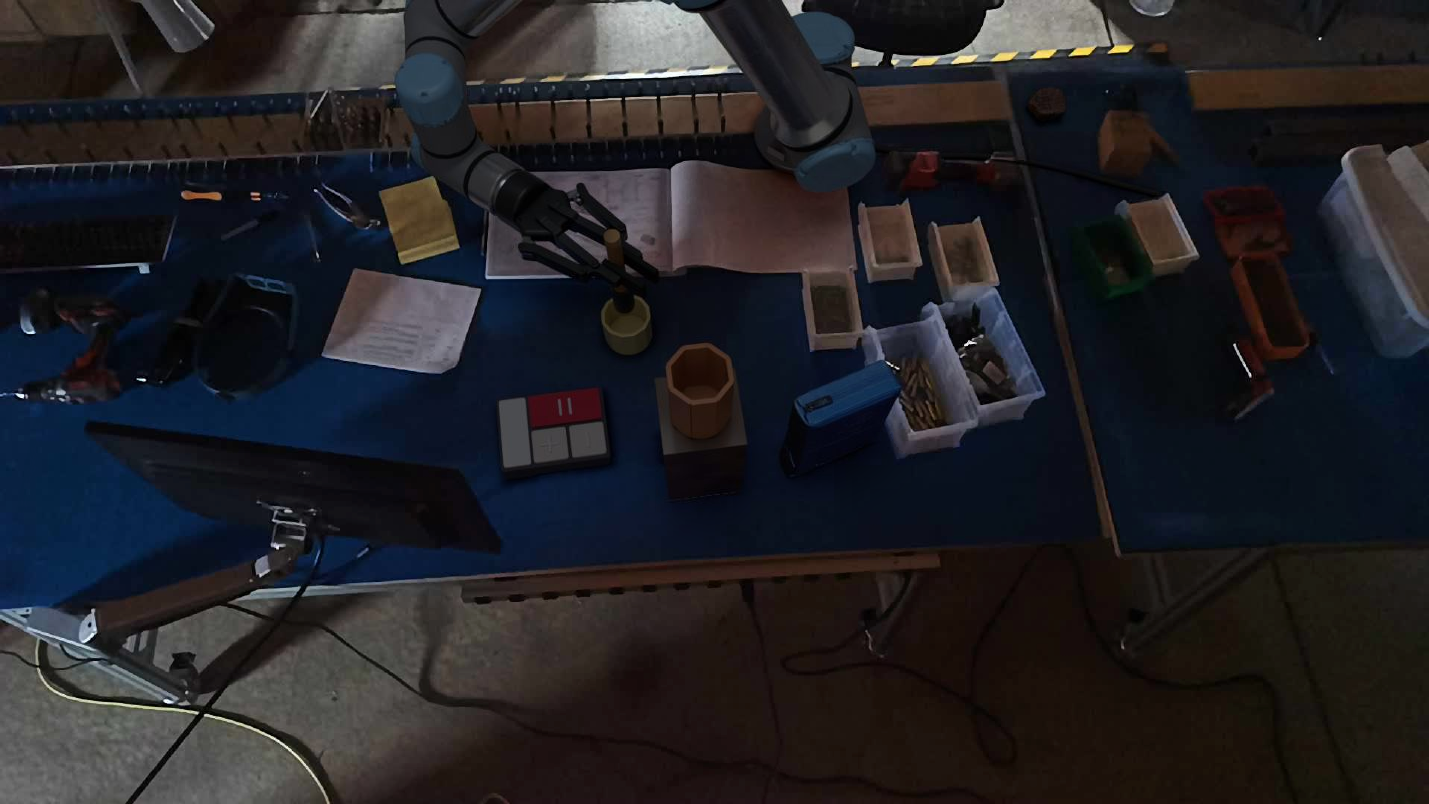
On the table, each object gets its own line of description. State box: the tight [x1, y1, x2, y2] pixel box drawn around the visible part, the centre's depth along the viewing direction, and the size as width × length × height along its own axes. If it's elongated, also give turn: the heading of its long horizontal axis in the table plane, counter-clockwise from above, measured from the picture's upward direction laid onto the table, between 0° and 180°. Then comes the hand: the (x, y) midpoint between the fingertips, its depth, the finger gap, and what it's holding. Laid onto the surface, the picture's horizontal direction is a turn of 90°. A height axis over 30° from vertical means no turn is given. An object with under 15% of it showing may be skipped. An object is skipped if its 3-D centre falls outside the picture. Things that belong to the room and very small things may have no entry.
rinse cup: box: [600, 294, 653, 356], centre depth 125 cm, size 7×7×6 cm
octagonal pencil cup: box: [664, 342, 735, 439], centre depth 96 cm, size 7×7×11 cm
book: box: [778, 359, 903, 478], centre depth 112 cm, size 14×5×20 cm, turn 115°
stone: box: [1026, 86, 1067, 122], centre depth 144 cm, size 7×7×3 cm
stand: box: [653, 368, 749, 504], centre depth 110 cm, size 10×10×20 cm
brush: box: [604, 229, 635, 314], centre depth 111 cm, size 3×3×17 cm
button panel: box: [495, 385, 612, 480], centre depth 119 cm, size 11×4×15 cm
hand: (650, 284), depth 108 cm, fingers closed on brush, 2 cm apart
